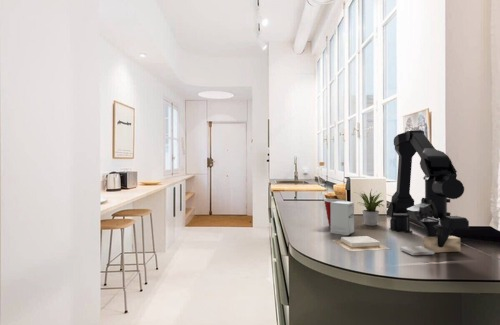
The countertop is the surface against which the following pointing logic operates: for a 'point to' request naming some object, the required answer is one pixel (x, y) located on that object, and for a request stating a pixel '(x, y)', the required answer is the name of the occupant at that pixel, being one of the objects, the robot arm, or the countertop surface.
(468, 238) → the countertop surface
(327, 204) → the plastic cup
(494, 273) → the countertop surface
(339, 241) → the board
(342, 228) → the supplement box
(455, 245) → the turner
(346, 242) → the tile
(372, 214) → the house plant
